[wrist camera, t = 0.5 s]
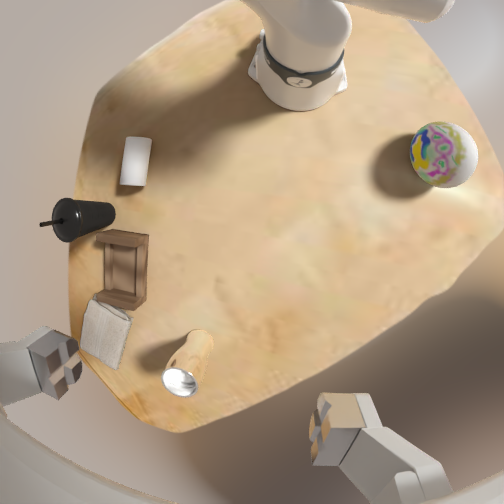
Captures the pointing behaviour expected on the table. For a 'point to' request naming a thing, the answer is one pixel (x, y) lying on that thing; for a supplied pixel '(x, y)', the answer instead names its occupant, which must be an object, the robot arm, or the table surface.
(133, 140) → the roll
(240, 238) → the table surface
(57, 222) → the drinking cup
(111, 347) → the washcloth
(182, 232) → the table surface
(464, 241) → the table surface
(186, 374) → the silver tumbler
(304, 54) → the robot arm
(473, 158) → the decorative egg
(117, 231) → the cradle
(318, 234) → the table surface
